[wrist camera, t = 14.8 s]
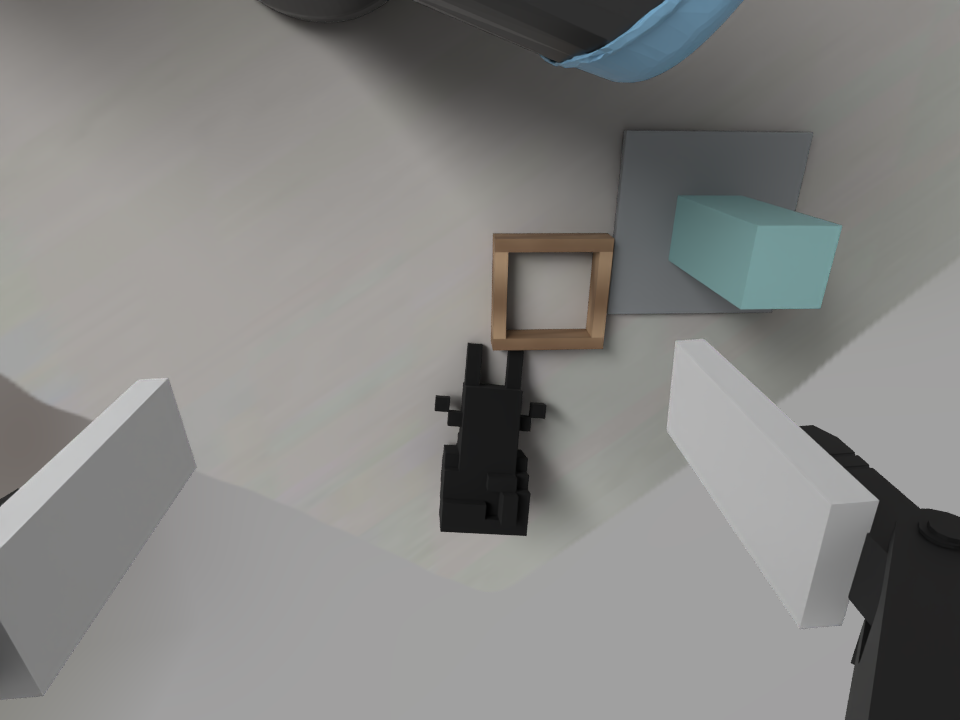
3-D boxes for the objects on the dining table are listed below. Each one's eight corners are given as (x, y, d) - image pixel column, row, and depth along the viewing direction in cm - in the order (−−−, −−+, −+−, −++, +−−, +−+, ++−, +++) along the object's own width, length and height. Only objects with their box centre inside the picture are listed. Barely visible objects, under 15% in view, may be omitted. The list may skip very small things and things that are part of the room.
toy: (561, 352, 44) (543, 541, 45) (540, 348, 52) (525, 508, 53) (441, 342, 43) (425, 536, 44) (439, 339, 51) (426, 503, 52)
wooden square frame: (493, 233, 44) (495, 239, 42) (607, 233, 45) (614, 238, 43) (491, 341, 48) (492, 350, 46) (596, 339, 48) (602, 348, 47)
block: (677, 195, 43) (757, 225, 32) (741, 195, 44) (842, 225, 33) (668, 260, 45) (740, 309, 34) (729, 259, 46) (820, 308, 35)
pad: (624, 130, 42) (626, 130, 41) (808, 132, 43) (813, 132, 42) (605, 311, 47) (607, 314, 47) (768, 310, 48) (771, 312, 48)
